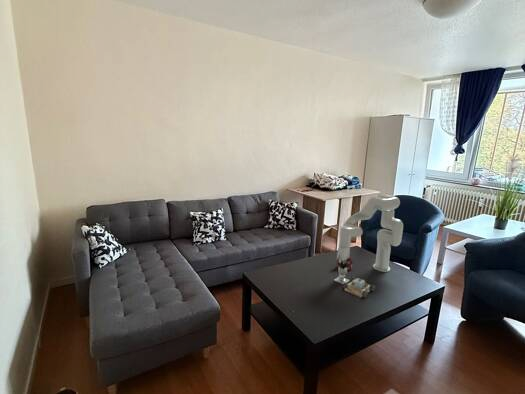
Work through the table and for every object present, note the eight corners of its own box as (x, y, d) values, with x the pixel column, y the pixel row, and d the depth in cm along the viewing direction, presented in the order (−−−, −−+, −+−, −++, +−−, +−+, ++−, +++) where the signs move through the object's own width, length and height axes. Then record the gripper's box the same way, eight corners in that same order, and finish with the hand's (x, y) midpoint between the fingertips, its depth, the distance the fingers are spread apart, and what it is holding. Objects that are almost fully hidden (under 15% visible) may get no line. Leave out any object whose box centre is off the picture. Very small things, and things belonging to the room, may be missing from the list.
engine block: (357, 285, 190) (358, 277, 189) (364, 288, 187) (365, 279, 185) (353, 288, 187) (354, 279, 185) (360, 291, 183) (361, 282, 182)
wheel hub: (340, 269, 201) (341, 265, 200) (348, 272, 197) (348, 268, 196) (336, 272, 197) (336, 268, 196) (343, 275, 193) (344, 271, 192)
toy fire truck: (353, 271, 213) (354, 258, 211) (336, 269, 215) (337, 257, 213) (351, 267, 220) (352, 254, 218) (335, 265, 222) (336, 253, 219)
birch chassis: (353, 281, 198) (354, 275, 197) (375, 290, 187) (376, 284, 186) (341, 289, 187) (342, 283, 186) (364, 299, 176) (364, 293, 175)
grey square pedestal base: (339, 276, 204) (340, 269, 202) (349, 280, 198) (350, 273, 197) (333, 280, 198) (334, 272, 197) (343, 284, 193) (344, 276, 191)
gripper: (345, 240, 200) (343, 263, 204) (334, 245, 190) (332, 269, 193) (355, 242, 195) (352, 267, 198) (344, 248, 184) (341, 273, 188)
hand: (342, 268), depth 196 cm, fingers closed
